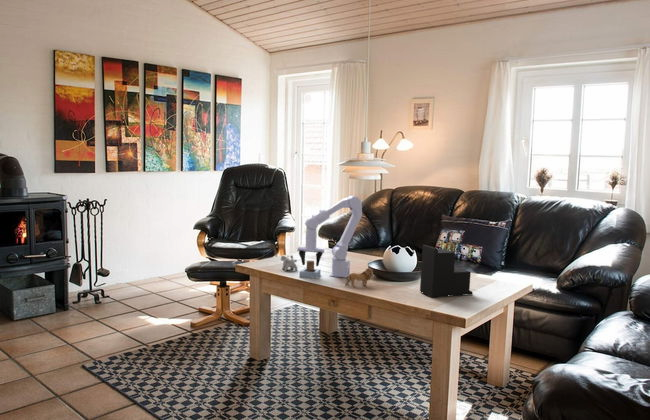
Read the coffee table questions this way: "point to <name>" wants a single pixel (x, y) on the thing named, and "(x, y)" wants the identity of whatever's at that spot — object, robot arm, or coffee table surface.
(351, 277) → the lion figurine
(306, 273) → the socket
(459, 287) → the bookend
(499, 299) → the coffee table surface
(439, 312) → the coffee table surface
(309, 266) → the peg
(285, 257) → the elephant statuette
